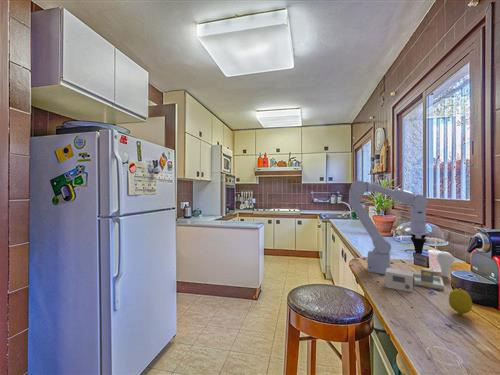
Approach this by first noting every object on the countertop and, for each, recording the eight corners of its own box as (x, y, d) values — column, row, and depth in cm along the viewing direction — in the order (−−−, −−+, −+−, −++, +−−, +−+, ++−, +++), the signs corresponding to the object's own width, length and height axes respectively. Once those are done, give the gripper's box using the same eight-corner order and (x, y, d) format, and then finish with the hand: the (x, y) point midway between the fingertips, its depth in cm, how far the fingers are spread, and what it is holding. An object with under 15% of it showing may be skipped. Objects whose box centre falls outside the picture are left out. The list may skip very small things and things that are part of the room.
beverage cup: (428, 267, 122) (428, 238, 122) (444, 270, 118) (444, 240, 118) (426, 270, 117) (426, 241, 117) (443, 273, 113) (443, 242, 113)
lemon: (466, 311, 79) (466, 286, 79) (476, 320, 74) (476, 293, 74) (445, 308, 81) (445, 284, 81) (453, 317, 76) (453, 290, 76)
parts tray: (410, 284, 101) (410, 280, 101) (411, 276, 110) (411, 272, 110) (443, 290, 95) (443, 285, 95) (441, 281, 104) (441, 277, 104)
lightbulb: (457, 279, 106) (457, 254, 106) (441, 278, 107) (441, 253, 107) (449, 274, 112) (449, 250, 112) (433, 274, 113) (433, 249, 113)
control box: (385, 287, 98) (385, 272, 98) (387, 282, 103) (387, 267, 103) (414, 293, 93) (414, 277, 93) (414, 287, 98) (414, 272, 98)
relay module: (421, 282, 102) (421, 269, 102) (421, 279, 105) (421, 267, 105) (433, 284, 99) (433, 271, 99) (432, 281, 103) (432, 268, 103)
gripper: (429, 224, 103) (430, 256, 103) (428, 220, 115) (429, 249, 115) (409, 223, 107) (410, 254, 107) (410, 219, 119) (410, 247, 119)
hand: (418, 251), depth 111 cm, fingers open, 7 cm apart
